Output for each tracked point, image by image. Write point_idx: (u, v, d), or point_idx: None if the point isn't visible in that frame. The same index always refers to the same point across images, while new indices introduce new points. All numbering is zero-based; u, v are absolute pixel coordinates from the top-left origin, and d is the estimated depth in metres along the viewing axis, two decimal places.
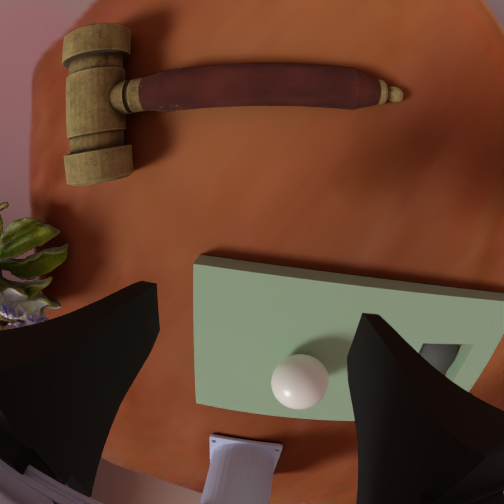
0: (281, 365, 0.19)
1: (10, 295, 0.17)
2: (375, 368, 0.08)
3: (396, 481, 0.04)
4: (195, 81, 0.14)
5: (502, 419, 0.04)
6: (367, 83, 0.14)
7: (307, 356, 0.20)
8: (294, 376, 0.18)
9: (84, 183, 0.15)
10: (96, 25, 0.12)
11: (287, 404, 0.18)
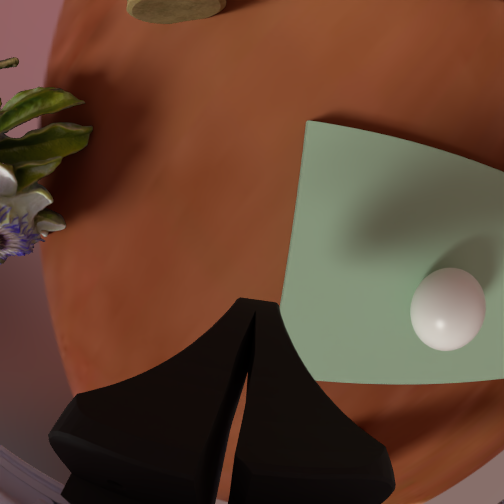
0: (432, 280, 0.12)
1: None
2: (251, 356, 0.08)
3: None
4: None
5: (340, 436, 0.04)
6: None
7: (457, 268, 0.12)
8: (459, 290, 0.11)
9: None
10: None
11: (446, 339, 0.11)
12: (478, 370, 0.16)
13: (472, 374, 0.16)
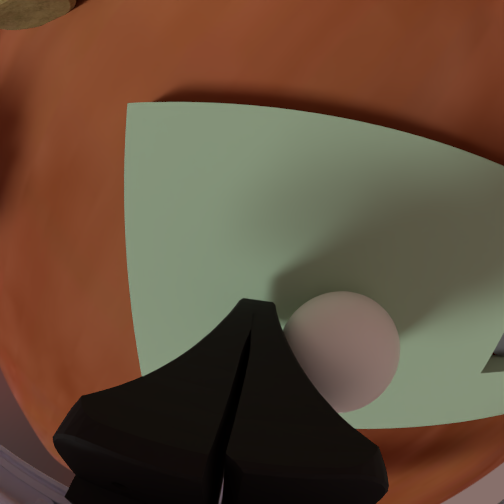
0: (301, 312, 0.09)
1: None
2: (247, 355, 0.08)
3: None
4: None
5: (333, 435, 0.04)
6: None
7: (355, 293, 0.09)
8: (336, 332, 0.08)
9: None
10: None
11: None
12: (423, 415, 0.13)
13: (415, 419, 0.13)
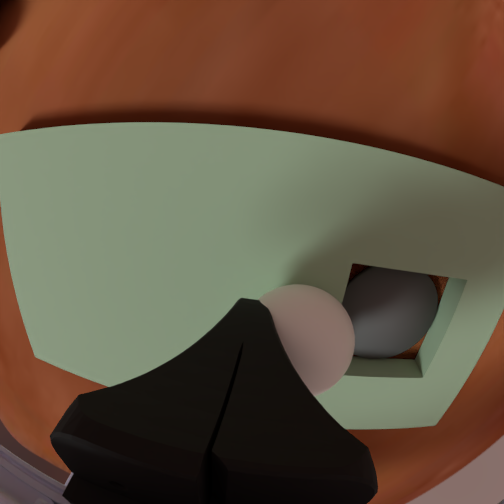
0: (340, 303, 0.10)
1: None
2: None
3: None
4: None
5: (322, 435, 0.04)
6: None
7: (320, 319, 0.09)
8: (302, 284, 0.10)
9: None
10: None
11: None
12: None
13: None
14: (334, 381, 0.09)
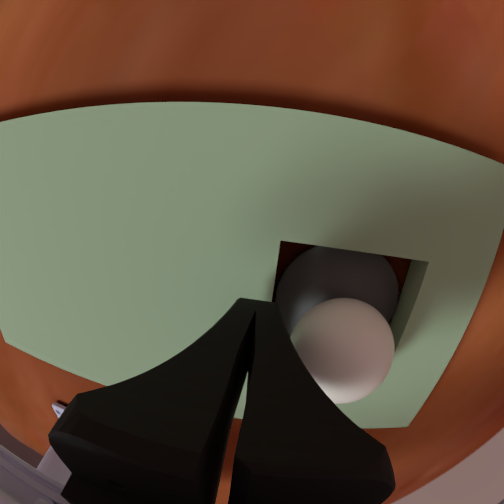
0: (332, 373, 0.09)
1: None
2: (251, 356, 0.08)
3: None
4: None
5: (340, 436, 0.04)
6: None
7: (329, 316, 0.10)
8: (375, 354, 0.09)
9: None
10: None
11: None
12: None
13: None
14: None
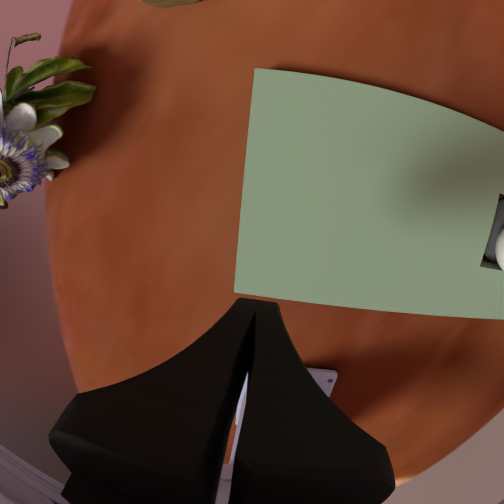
0: None
1: (14, 122, 0.13)
2: (251, 356, 0.08)
3: None
4: None
5: (340, 435, 0.04)
6: None
7: None
8: None
9: None
10: None
11: None
12: (442, 302, 0.19)
13: (437, 306, 0.19)
14: (498, 243, 0.16)
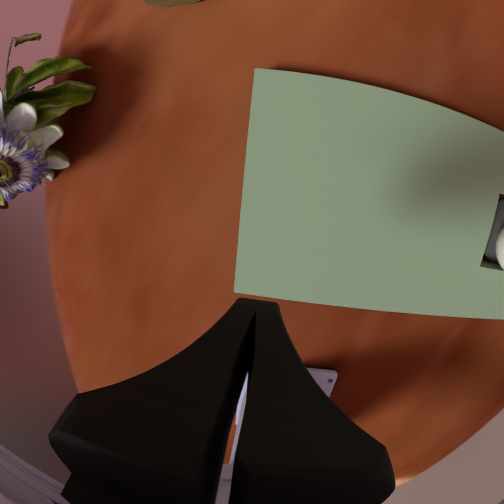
0: None
1: (14, 122, 0.13)
2: (251, 356, 0.08)
3: None
4: None
5: (340, 435, 0.04)
6: None
7: None
8: None
9: None
10: None
11: None
12: (442, 302, 0.19)
13: (437, 306, 0.19)
14: (498, 242, 0.16)
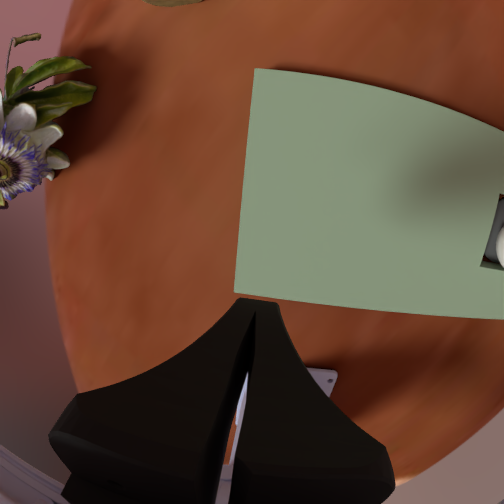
0: None
1: (14, 122, 0.13)
2: (251, 356, 0.08)
3: None
4: None
5: (340, 435, 0.04)
6: None
7: None
8: None
9: None
10: None
11: None
12: (442, 302, 0.19)
13: (437, 306, 0.19)
14: (498, 241, 0.16)
